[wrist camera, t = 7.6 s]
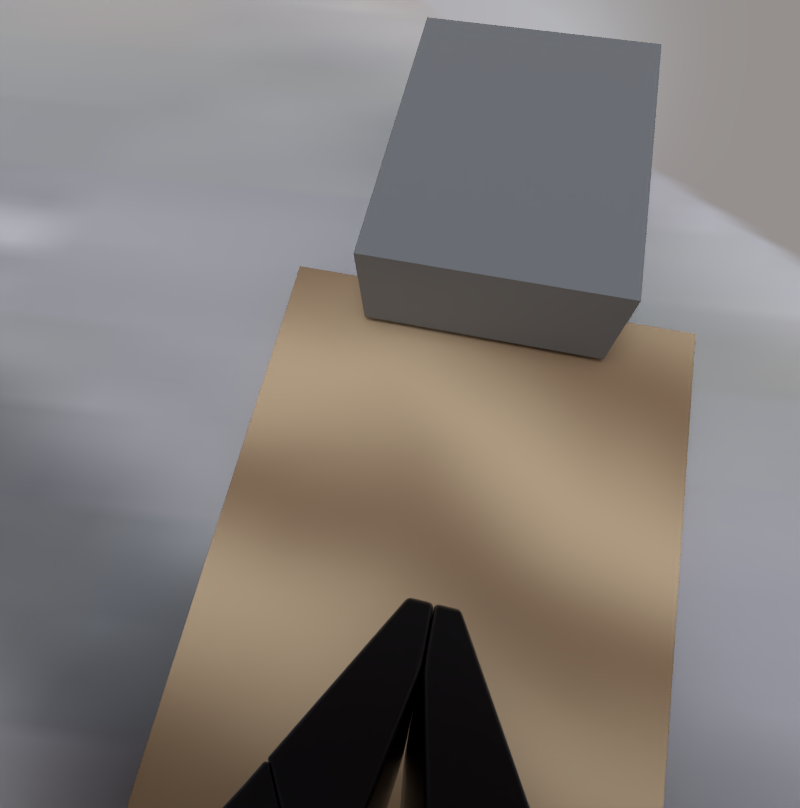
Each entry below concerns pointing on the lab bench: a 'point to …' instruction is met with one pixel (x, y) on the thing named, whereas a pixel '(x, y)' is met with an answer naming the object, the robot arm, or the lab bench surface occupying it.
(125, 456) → the lab bench surface
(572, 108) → the thick grey slab block
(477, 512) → the cork mat
